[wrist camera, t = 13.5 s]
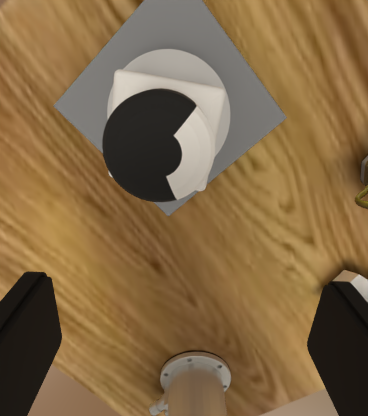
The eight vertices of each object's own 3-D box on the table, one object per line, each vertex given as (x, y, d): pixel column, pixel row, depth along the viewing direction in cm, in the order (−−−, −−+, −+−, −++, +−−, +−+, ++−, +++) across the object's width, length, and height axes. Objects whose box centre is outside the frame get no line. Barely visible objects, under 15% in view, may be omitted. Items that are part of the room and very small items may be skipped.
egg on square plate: (168, 211, 37) (165, 240, 31) (58, 104, 32) (25, 111, 25) (282, 116, 32) (309, 126, 26) (175, -31, 27) (173, -68, 20)
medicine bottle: (125, 154, 26) (85, 206, 16) (132, 70, 24) (88, 64, 13) (199, 165, 27) (211, 224, 16) (215, 86, 24) (242, 92, 13)
